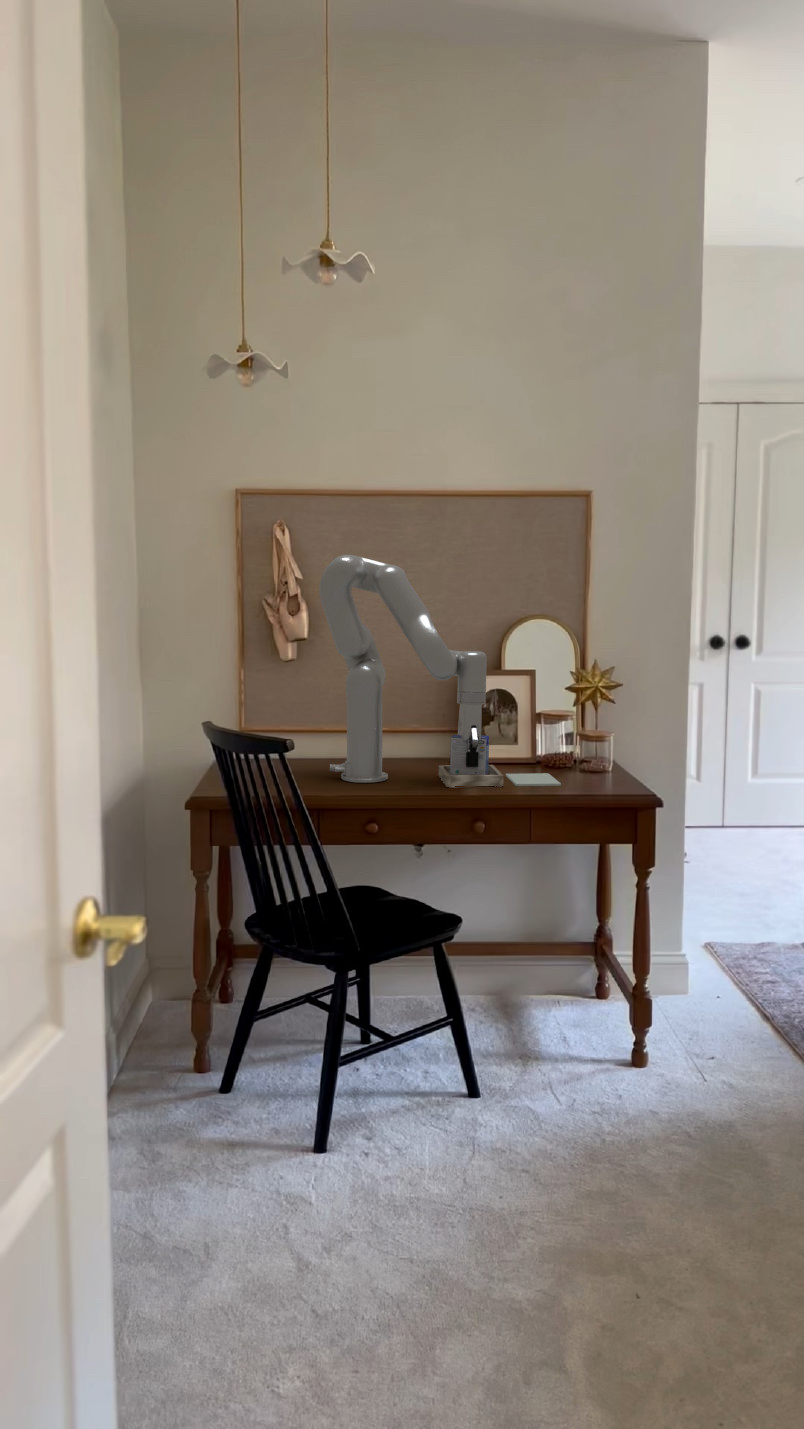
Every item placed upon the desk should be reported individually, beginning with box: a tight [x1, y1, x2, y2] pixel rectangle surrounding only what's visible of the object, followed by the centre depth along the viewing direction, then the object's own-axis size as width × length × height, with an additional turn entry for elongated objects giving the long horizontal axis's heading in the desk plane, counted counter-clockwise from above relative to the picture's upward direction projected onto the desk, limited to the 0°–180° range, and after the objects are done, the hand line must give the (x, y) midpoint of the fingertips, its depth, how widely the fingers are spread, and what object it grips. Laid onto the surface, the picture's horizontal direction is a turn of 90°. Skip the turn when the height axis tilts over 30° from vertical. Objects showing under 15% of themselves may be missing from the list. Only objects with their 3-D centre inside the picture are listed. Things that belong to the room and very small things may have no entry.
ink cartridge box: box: [449, 734, 490, 775], centre depth 292 cm, size 10×6×14 cm, turn 79°
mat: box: [505, 772, 562, 787], centre depth 295 cm, size 12×14×1 cm
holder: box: [438, 764, 504, 788], centre depth 293 cm, size 15×15×3 cm
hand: (469, 763), depth 293 cm, fingers closed on ink cartridge box, 6 cm apart
